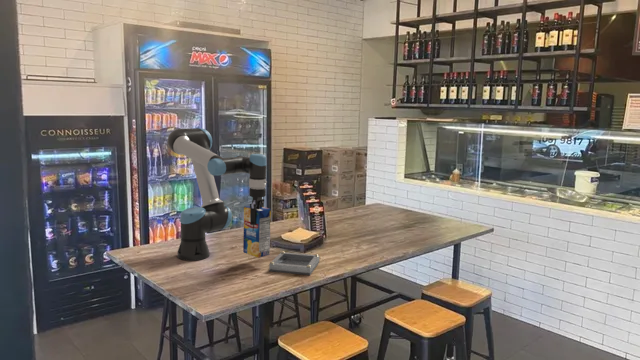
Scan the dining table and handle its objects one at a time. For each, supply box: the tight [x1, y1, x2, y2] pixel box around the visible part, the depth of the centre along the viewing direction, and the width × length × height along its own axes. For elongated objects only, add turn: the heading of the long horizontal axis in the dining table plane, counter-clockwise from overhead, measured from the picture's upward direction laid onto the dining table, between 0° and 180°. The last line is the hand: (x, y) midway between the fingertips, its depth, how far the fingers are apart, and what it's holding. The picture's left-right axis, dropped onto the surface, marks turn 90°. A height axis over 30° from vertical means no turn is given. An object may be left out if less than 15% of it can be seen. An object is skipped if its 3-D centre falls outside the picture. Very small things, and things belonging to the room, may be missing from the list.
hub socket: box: [268, 250, 320, 276], centre depth 227 cm, size 19×19×4 cm
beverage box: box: [242, 205, 272, 259], centre depth 228 cm, size 7×11×22 cm, turn 49°
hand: (256, 237), depth 228 cm, fingers open, 4 cm apart
